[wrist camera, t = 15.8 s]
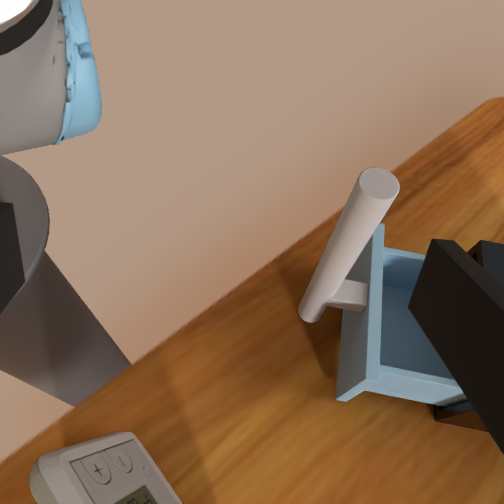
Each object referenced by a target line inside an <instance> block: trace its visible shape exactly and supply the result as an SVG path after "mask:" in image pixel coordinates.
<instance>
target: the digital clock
mask: <svg viewBox="0 0 504 504" xmlns="http://www.w3.org/2000/svg"><path fill="white" fill-rule="evenodd" d="M30 490H31V493H32V495H33V497H34V499H35V501H36V503H37V504H183V503H182V502H181V500H180V499H179V498H178V496H177V495H176V493H175V492H174V490H173V489H172V487H171V486H170V484H169V483H168V481H167V480H166V478H165V477H164V475H163V474H162V473H161V471H160V470H159V468H158V467H157V465H156V464H155V462H154V461H153V459H152V458H151V456H150V455H149V453H148V452H147V451H146V449H145V448H144V446H143V445H142V444H141V442H140V441H139V439H138V438H137V437H136V436H135V435H134V434H133V433H132V432H116V433H112V434H109V435H105V436H102V437H99V438H95V439H92V440H89V441H85V442H82V443H79V444H75V445H72V446H69V447H65V448H62V449H59V450H55V451H52V452H50V453H47V454H45V455H42V456H41V457H40V458H39V459H38V460H37V461H36V462H35V464H34V466H33V467H32V470H31V472H30Z"/></svg>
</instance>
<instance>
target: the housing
mask: <svg viewBox="0 0 504 504" xmlns="http://www.w3.org/2000/svg"><path fill="white" fill-rule="evenodd" d="M467 253H468V254H469V255H470V256H471V257H472V258H473V259H474V260H475V261H476V262H477V263H478V264H479V265H480V266H481V267H483V268H484V269H485V270H486V271H487V272H488V273H489V274H490V275H491V276H492V277H493V278H494V279H495V280H496V281H498V282H499V283H500V284H501V285H502V286H503V287H504V244H499V243H494V242H489V241H484V240H480V241H479V242H478V243H477V244H476V245H475V246H473V247H472V248H471V249H470V250H469V251H468V252H467ZM434 420H435V421H437V422H442V423H447V424H452V425H457V426H462V427H466V428H471V429H476V430H481V431H486V432H489V431H488V430H487V428H486V427H485V425H484V424H483V422H482V421H481V419H480V418H479V416H478V414H477V413H476V411H475V410H474V408H473V407H472V405H471V404H470V402H469V401H468V402H465V403H462V404H458V405H455V406H452V407H449V408H448V407H443V406H439V405H434Z"/></svg>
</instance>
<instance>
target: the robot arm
mask: <svg viewBox="0 0 504 504" xmlns="http://www.w3.org/2000/svg"><path fill="white" fill-rule="evenodd" d="M101 114H102V105H101V93H100V86H99V80H98V73H97V68H96V63H95V58H94V55H93V52H92V51H91V42H90V37H89V29H88V25H87V21H86V17H85V13H84V10H83V6H82V2H81V0H0V155H4V154H8V153H14V152H18V151H23V150H28V149H32V148H37V147H42V146H47V145H56V144H59V143H61V142H62V141H63V140H66V139H69V138H73V137H76V136H79V135H83V134H86V133H88V132H91V131H92V130H94V129H95V128H96V127H97V125H98V124H99V121H100V119H101ZM24 283H25V275H24V269H23V263H22V257H21V250H20V244H19V238H18V232H17V225H16V219H15V213H14V207H13V203H7V202H3V201H2V199H1V198H0V313H1V312H2V311H3V310H4V308H5V307H6V306H7V304H8V303H9V302H10V301H11V299H12V298H13V297H14V296H15V294H16V293H17V292H18V290H19V289H20V288H21V287H22V285H23V284H24ZM408 309H409V310H410V312H411V313H412V315H413V316H414V318H415V319H416V321H417V322H418V324H419V325H420V327H421V328H422V330H423V332H424V333H425V335H426V336H427V338H428V339H429V341H430V342H431V344H432V345H433V347H434V348H435V350H436V352H437V353H438V355H439V356H440V358H441V359H442V361H443V362H444V364H445V365H446V367H447V368H448V370H449V371H450V373H451V375H452V376H453V378H454V379H455V381H456V382H457V384H458V385H459V387H460V388H461V390H462V391H463V393H464V395H465V396H466V398H467V399H468V401H469V402H470V404H471V405H472V407H473V408H474V410H475V411H476V413H477V414H478V416H479V418H480V419H481V421H482V422H483V424H484V425H485V427H486V428H487V430H488V431H489V433H490V434H491V436H492V437H493V439H494V441H495V442H496V444H497V445H498V447H499V448H500V450H501V451H502V453H503V454H504V287H503V286H502V285H501V284H500V283H499V282H498V281H496V280H495V279H494V278H493V277H492V276H491V275H490V274H489V273H488V272H487V271H486V270H485V269H484V268H483V267H481V266H480V265H479V264H478V263H477V262H476V261H475V260H474V259H473V258H472V257H471V256H470V255H469V254H468V253H467V252H465V251H464V250H463V249H462V248H461V247H460V246H459V245H458V244H457V243H456V242H455V241H452V240H441V239H432V240H431V243H430V246H429V248H428V251H427V254H426V257H425V259H424V262H423V265H422V268H421V271H420V273H419V276H418V279H417V282H416V285H415V287H414V290H413V293H412V296H411V299H410V301H409V304H408Z"/></svg>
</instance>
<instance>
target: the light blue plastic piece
mask: <svg viewBox="0 0 504 504" xmlns="http://www.w3.org/2000/svg"><path fill="white" fill-rule="evenodd" d="M398 192H399V182H398V180H397V178H396V177H395V176H394V175H393V174H392V173H391V172H389V171H388V170H386V169H383V168H378V167H372V168H368V169H365V170H364V171H362V172H361V174H360V175H359V177H358V179H357V181H356V183H355V186H354V188H353V190H352V192H351V195H350V196H349V199H348V201H347V203H346V205H345V207H344V209H343V212H342V214H341V216H340V218H339V220H338V222H337V225H336V227H335V229H334V231H333V233H332V235H331V238H330V240H329V242H328V244H327V246H326V248H325V251H324V253H323V255H322V257H321V259H320V261H319V264H318V266H317V268H316V270H315V272H314V274H313V277H312V279H311V281H310V283H309V285H308V287H307V290H306V292H305V294H304V296H303V298H302V300H301V303H300V305H299V307H298V313H299V315H300V317H301V318H302V319H303V320H304V321H306V322H316V321H318V320H319V319H320V317H321V316H322V314H323V312H324V311H325V309H326V308H327V306H330V307H335V308H340V309H343V313H342V325H341V337H340V349H339V361H338V373H337V385H336V398H335V399H336V400H339V401H344V402H346V401H348V400H350V399H351V398H353V397H355V396H356V395H358V394H360V393H361V392H363V391H370V392H375V393H380V394H385V395H390V396H394V397H399V398H404V399H409V400H414V401H419V402H424V403H429V404H434V405H439V406H443V407H448V408H449V407H452V406H455V405H458V404H462V403H465V402H468V399H467V398H466V396H465V395H464V393H463V391H462V390H461V388H460V387H459V385H458V384H457V382H456V381H455V379H454V378H453V376H452V375H451V373H450V371H449V370H448V368H447V367H446V365H445V364H444V362H443V361H442V359H441V358H440V356H439V355H438V353H437V352H436V350H435V348H434V347H433V345H432V344H431V342H430V341H429V339H428V338H427V336H426V335H425V333H424V332H423V330H422V328H421V327H420V325H419V324H418V322H417V321H416V319H415V318H414V316H413V315H412V313H411V312H410V310H409V309H408V304H409V301H410V299H411V296H412V293H413V290H414V287H415V285H416V282H417V279H418V276H419V273H420V271H421V268H422V265H423V262H424V259H425V257H426V255H423V254H418V253H413V252H408V251H403V250H398V249H393V248H387V247H384V224H381V223H380V222H381V220H382V218H383V217H384V215H385V214H386V212H387V210H388V209H389V207H390V206H391V204H392V202H393V201H394V199H395V198H396V196H397V194H398Z"/></svg>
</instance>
